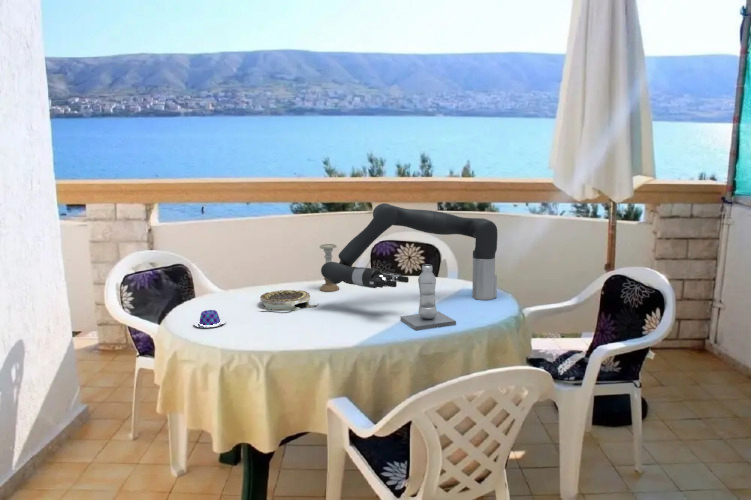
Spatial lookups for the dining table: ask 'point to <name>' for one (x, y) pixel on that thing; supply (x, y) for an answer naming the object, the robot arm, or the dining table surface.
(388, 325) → the dining table surface
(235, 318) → the dining table surface
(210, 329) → the dining table surface
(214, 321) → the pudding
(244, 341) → the dining table surface
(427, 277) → the plastic bottle
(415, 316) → the slate tile
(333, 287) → the candle holder
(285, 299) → the pie
